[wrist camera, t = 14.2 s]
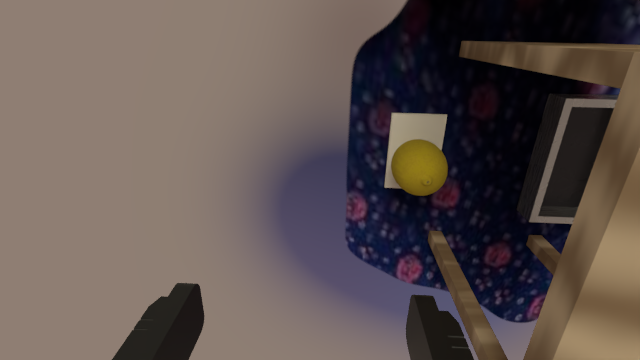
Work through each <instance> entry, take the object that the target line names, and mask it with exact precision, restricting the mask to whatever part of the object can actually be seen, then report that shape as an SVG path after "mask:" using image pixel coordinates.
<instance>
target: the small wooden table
mask: <svg viewBox="0 0 640 360" xmlns="http://www.w3.org/2000/svg"><path fill="white" fill-rule="evenodd" d="M459 57H464V58H469V59H474V60H479V61H484V62H489V63H494V64H499V65H504V66H509V67H515V68H520V69H525V70H530V71H535V72H540V73H545V74H550V75H555V76H560V77H565V78H570V79H575V80H580V81H586V82H591V83H596V84H601V85H606V86H611V87H616V88H621V90H620V93H619V96H618V99H617V102H616V104H615V107H614V110H613V113H612V115H611V118H610V121H609V124H608V127H607V129H606V132H605V135H604V138H603V140H602V143H601V146H600V149H599V151H598V154H597V157H596V160H595V163H594V165H593V168H592V171H591V174H590V176H589V179H588V182H587V185H586V187H585V190H584V193H583V196H582V199H581V201H580V204H579V207H578V210H577V212H576V215H575V218H574V221H573V223H572V226H571V229H570V232H569V235H568V237H567V240H566V243H565V246H564V248H563V251H562V254H560V253H559V252H558V251H557V250H556V249H555V248H554V247H553V246H552V245H551V244H550V243H549V242H548V241H547V240H546V239H545V238H544V237H543V236H542V235H529V237H528V241H527V244H526V245H527V246H528V247H529V249H530V250H531V251H532V252H533V253H534V254H535V255H536V256H537V258H538V259H539V260H540V261H541V262H542V263H543V264H544V265H545V267H546V268H547V269H548V270H549V271H550V272H551V273H552V274H553V279H552V282H551V284H550V287H549V290H548V293H547V296H546V298H545V301H544V304H543V307H542V309H541V312H540V315H539V318H538V321H537V323H536V326H535V329H534V332H533V334H532V337H531V340H530V343H529V345H528V348H527V351H526V354H525V356H524V359H523V360H640V45H626V44H600V43H548V42H495V41H461V47H460V53H459ZM428 243H429V245H430V247H431V249H432V252H433V254H434V256H435V259H436V261H437V263H438V266H439V268H440V270H441V273H442V275H443V277H444V280H445V282H446V284H447V287H448V289H449V291H450V294H451V296H452V298H453V301H454V303H455V305H456V307H457V310H458V312H459V315H460V317H461V319H462V322H463V324H464V326H465V329H466V331H467V333H468V335H469V338H470V340H471V342H472V345H473V347H474V349H475V352H476V354H477V356H478V359H479V360H508V359H507V357H506V355H505V354H504V351H503V349H502V348H501V345H500V344H499V342H498V340H497V338H496V336H495V334H494V332H493V330H492V328H491V326H490V324H489V322H488V321H487V319H486V317H485V315H484V313H483V311H482V309H481V307H480V305H479V303H478V301H477V299H476V297H475V295H474V293H473V291H472V290H471V288H470V286H469V284H468V282H467V280H466V278H465V276H464V274H463V272H462V270H461V268H460V266H459V264H458V263H457V261H456V259H455V257H454V255H453V253H452V251H451V249H450V247H449V245H448V243H447V241H446V239H445V238H444V236H443V234H442V232H441V231H429V236H428Z"/></svg>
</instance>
